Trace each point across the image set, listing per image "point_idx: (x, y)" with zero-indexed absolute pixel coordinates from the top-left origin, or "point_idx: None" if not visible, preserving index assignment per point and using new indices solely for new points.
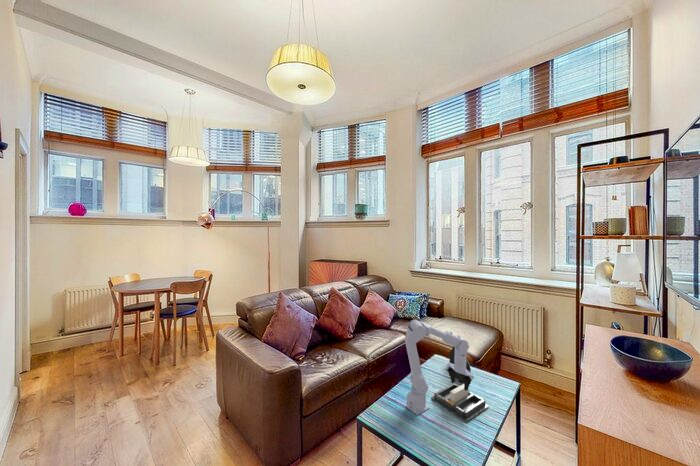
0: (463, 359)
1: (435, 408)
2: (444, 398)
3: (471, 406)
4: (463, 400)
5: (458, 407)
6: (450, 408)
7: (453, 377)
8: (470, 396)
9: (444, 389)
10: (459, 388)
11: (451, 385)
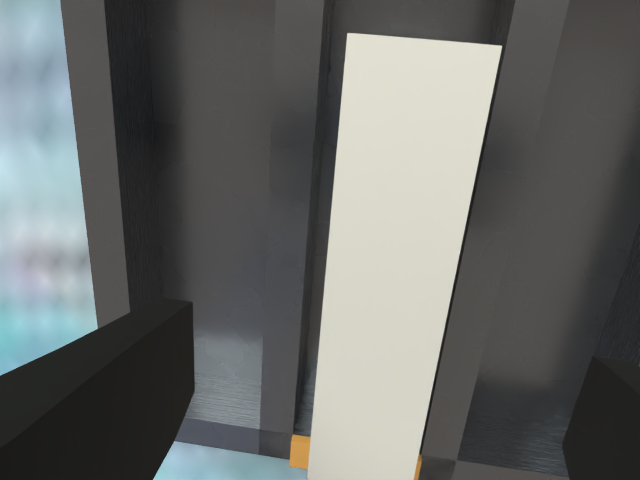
0: None
1: (254, 472)
2: (258, 434)
3: (578, 190)
4: (481, 289)
5: (493, 471)
6: None
7: (109, 476)
8: (535, 73)
9: (112, 251)
10: (380, 339)
11: (86, 31)
